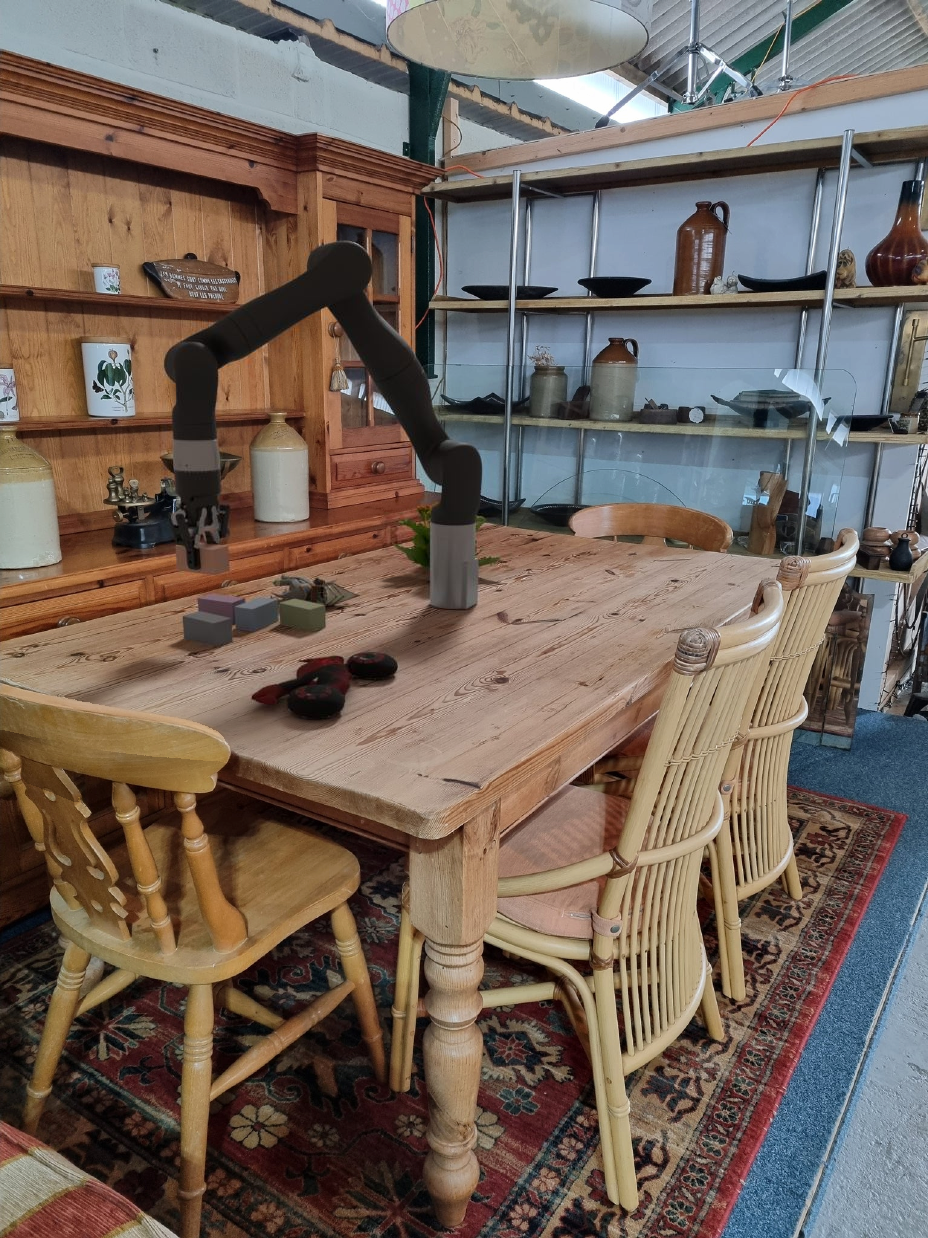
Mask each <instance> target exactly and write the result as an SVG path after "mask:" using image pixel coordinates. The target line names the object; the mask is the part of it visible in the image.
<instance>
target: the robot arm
mask: <svg viewBox="0 0 928 1238" xmlns="http://www.w3.org/2000/svg"><path fill="white" fill-rule="evenodd" d="M372 275H373V261H372V259H371V257H370V255H369V253H368V251H367V250H366V249H365V248H364V247H363V246H361V245H360V244H359V243H356V242H355V241H350V240H337V241H333V242H328V243H325V244H322V245H319V246H317V247H315V248H314V249H313V250H312V251H311V252H310V254H309V256H308V258H307V263H306V271H304V272H303V273H302V274H300V275H298V276H297V277H295V278H294V279H292V280H290V281H288V282H287V283H285V284H283V285H280V286H279V287H276V288H274V289H272V290H270V291H267V292H266V293H264V294H262V295H259V296H257V297H256V298H253V299H251V300H250V301H248V302H246V303H244V304H242V305H240V306H238V307H237V308H235V309H234V310H232V311H231V312H229V313H227V314H225V315H224V316H223V317H221V318H220V319H219V320H217V321H216V322H214V323H213V324H212V325H210V326H208V327H206V328H204V329H201V330H200V331H198V332H195V333H194V334H191V335H190V336H188V337H186V338H184V339H183V340H180V341H179V342H177V343H175V344H174V345H172V346H171V347H170V348H169V349H168V350H167V352H166V353H165V356H164V360H163V368H164V372H165V374H166V376H167V377H168V378H169V379H170V381H172V382H173V383H175V404H174V406H173V407H172V411H171V425H172V427H171V428H172V439H173V445H172V462H173V463H172V464H173V476H174V479H173V480H174V491H175V494H176V495H177V496H178V497H179V498H180V503H179V507H178V510H177V511H175V512H168V513H167V520H168V524H169V527H170V529H171V531H172V535H173V538H174V541H175V544H176V545H180V546H184V547H185V548H186V556H187V565H188V568H189V569H192V570H199V569H200V568H201V562H200V548H199V545H200V543H201V536H202V537H203V540H204V543H207V544H216V545H219V543H220V541H221V539H225V538H226V536H227V530H228V523H229V518H230V512H231V506H230V504H225V503H220V501H219V497H218V496H219V495H221V494H222V489H223V488H222V476H221V475H222V474H221V459H220V458H221V456H220V450H219V444H218V433H217V432H218V431H217V429H218V428H217V417H216V406H217V400H218V399H217V398H218V390H219V389H218V388H219V370H220V369H222V368H223V367H225V366H227V364H230V363H234V362H237V361H240V360H242V359H244V358H246V357H247V356H249V355H251V354H253V353H254V352H256V351H257V350H259V349H260V348H261V347H263V346H265V345H266V344H268V343H270V342H271V341H272V340H274V339H275V338H277V337H278V336H280V335H282V334H283V333H285V332H286V331H288V330H289V329H291V328H292V327H293V326H295V325H296V324H298V323H300V322H302V321H303V320H305V319H306V318H308V317H310V316H312V315H313V314H315V313H317V312H319V311H321V310H323V309H326V308H327V309H328V311H329V312H330V313H331V315H332V316H333V317H334V318H335V320H336V322H337V323H338V324H339V325H340V327H341V328H342V330H343V331H344V333H345V334H346V337H347V338H348V339H349V342H350V344H351V345H352V347H353V349H354V350H355V352H356V355H358V357H359V358H360V361H361V362H362V364H363V365H364V367H365V368H366V369H365V370H366V371H367V372H368V374H369V376H370V378H371V380H372V381H373V383H374V384H375V386H376V388H377V389H378V391H379V393H380V395H381V396H382V397H383V399H384V401H385V402H386V404H387V406H389V409H390V410H391V411H392V413H393V415H394V416H395V419H396V420H397V421H398V423H399V424H400V426H401V427H402V429H403V431H404V432H405V433H406V436H407V438H408V440H409V441H410V443H411V446H412V448H413V450H414V452H415V454H416V456H417V458H418V461H419V463H420V466H421V467H422V469H423V471H424V473H425V474H426V476H427V477H428V479H429V480H430V481H431V482H432V483H433V484H435V485H437V486H440V487H441V494H440V500H439V502H438V503H439V504H438V505H436V504H435V505H436V506H434V507H433V508H432V509H431V517H430V519H429V521H431V522H430V525H431V529H430V570H429V604H430V605H431V606H432V607H434V608H438V609H447V610H448V609H449V610H460V609H463V610H468V609H469V608H472V607H473V606H474V605H476V604H478V603H479V601H478V597H479V596H478V595H479V594H478V593H479V566H478V562H479V560H478V559H479V558H478V557H476V556H475V554H476V553H475V546H476V545H475V541H476V535H477V534H476V533H477V532H476V525H477V522H476V515H477V514H478V512H479V509H480V506H481V498H482V497H481V496H482V486H483V462H482V457H481V455H480V452H479V451H478V449H477V448H476V446H474V445H472V444H470V443H467V442H462V441H455V440H452V439H451V437H450V436H449V435H448V433H447V432H446V431H445V429H444V428H443V426H442V425H441V423H440V422H439V419H438V417H437V416H436V414H435V410H434V407H433V406H434V405H433V399H432V398H433V397H432V394H431V393H432V392H431V386H430V383H429V379H428V377H427V374H426V372H425V369H424V368H423V366H422V364H421V362H420V361H419V359H418V358H417V355H416V354H415V352H414V351H413V349H412V347H411V346H410V345H409V343H408V342H407V341H406V340H405V339H404V337H402V336H401V335H400V334H399V332H398V331H397V330H396V329H394V327H393V326H392V325H391V324H389V323H388V321H387V320H385V319H384V318H383V317H382V315H381V314H380V313H379V312H378V311H377V310H376V308H375V306H373V304H372V302H371V301H370V299H369V297H368V295H367V293H366V291H365V290H366V289H367V288H368V286H369V284H370V282H371V281H372V278H373V276H372ZM193 528H194V529H193ZM219 529H220V530H219ZM192 535H193V539H192Z"/></svg>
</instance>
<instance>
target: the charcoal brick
mask: <svg viewBox="0 0 928 1238" xmlns="http://www.w3.org/2000/svg"><path fill="white" fill-rule="evenodd" d="M182 627H183V629H182V631H183V639H184V640H186V641H191V642H195V643H199V644H203V645H207V646H211V647H219V646H222V645H225V644H228V643H231V642H233V641H234V639H233V624H232V620H231V618H228V617H224V616H219V615H215V614H210V613H206V612H202V611H199V612H198V611H195V612H192V613H188V614H185V615H182Z"/></svg>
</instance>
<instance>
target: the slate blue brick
mask: <svg viewBox="0 0 928 1238" xmlns="http://www.w3.org/2000/svg"><path fill="white" fill-rule="evenodd" d="M278 599H279V598H278ZM278 599H277V598H273V599H271V598H270V597H263V596H259V597H257V598H254V599H251V600H249V601H245V603H243V604H240V605H238V606H235V624H234V625H235V629H236V630H243V631H249V632H255V631H258V630H260V629H262V628H266V627H268V626H270V625H272V624H274V623H278V622H280V616H279V605H278Z"/></svg>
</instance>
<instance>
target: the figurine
mask: <svg viewBox="0 0 928 1238" xmlns="http://www.w3.org/2000/svg"><path fill="white" fill-rule="evenodd" d="M338 580H339V578H336V579H333V580H330V581H326V580H324V579H320V577H315V578H314V579H313V580H310V579H308V578H306V577H300V576H291V575H290V574H289V575H284V574H282V573H281V576H280V578H278V579H277V578H276V579H275V580H274V581H273V582H271V583H272V585H274V587H283V586H284V587H288V586H289V587H288V588H285V589H284V591H282V593H281V594H277V593H275V592H271V593H270V594H271V595H270V597H269V598H271V599H274V597H273V596H275V597H277V598H276V599H278V606H279V603H280V602H284V601H288V600H291V599H299V600H303V601H308V602H312V603H317V604H322V605H325V607H331V606H336V605H339V604H342V603H345V602H346V601H350V600H352V599H356V598H360V597H361V594H357V593H355V592H352V591H350V590H347V589H345V588H344V587H343V586H341V585H339V584H337V583H336V582H337V581H338ZM272 595H273V596H272ZM281 599H282V600H281ZM285 599H286V600H285Z"/></svg>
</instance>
